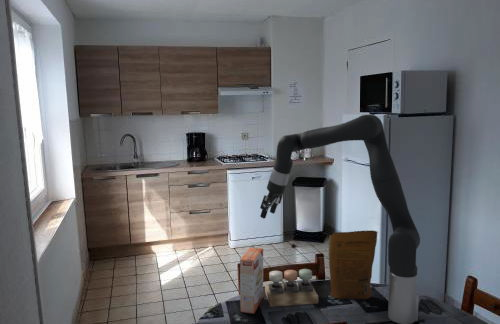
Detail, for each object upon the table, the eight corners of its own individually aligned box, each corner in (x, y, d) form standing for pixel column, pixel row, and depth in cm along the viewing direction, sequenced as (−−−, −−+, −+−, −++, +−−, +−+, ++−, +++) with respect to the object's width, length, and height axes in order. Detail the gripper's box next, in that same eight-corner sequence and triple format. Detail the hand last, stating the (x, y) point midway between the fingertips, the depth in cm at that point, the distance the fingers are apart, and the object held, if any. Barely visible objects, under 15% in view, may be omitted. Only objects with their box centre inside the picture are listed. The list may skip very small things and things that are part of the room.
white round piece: (281, 281, 165) (281, 270, 165) (283, 287, 160) (283, 275, 159) (268, 282, 165) (268, 271, 164) (270, 288, 160) (270, 276, 159)
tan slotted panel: (309, 288, 171) (309, 276, 171) (318, 303, 158) (318, 290, 158) (265, 291, 169) (264, 279, 168) (270, 306, 156) (270, 293, 156)
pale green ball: (310, 279, 167) (310, 268, 166) (313, 285, 161) (313, 273, 161) (297, 280, 166) (297, 269, 165) (300, 286, 161) (300, 274, 160)
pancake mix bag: (377, 301, 159) (379, 232, 155) (328, 300, 160) (329, 232, 157) (373, 293, 166) (375, 227, 162) (326, 293, 167) (327, 227, 163)
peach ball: (295, 280, 166) (295, 269, 165) (298, 286, 161) (298, 274, 160) (283, 281, 165) (283, 270, 165) (285, 287, 160) (285, 275, 160)
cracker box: (255, 314, 151) (254, 260, 148) (239, 312, 152) (238, 259, 149) (264, 297, 164) (263, 247, 161) (250, 295, 166) (249, 246, 163)
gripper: (278, 187, 160) (266, 223, 165) (293, 181, 172) (282, 214, 177) (262, 180, 163) (251, 215, 168) (278, 174, 175) (267, 207, 180)
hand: (267, 215), depth 172 cm, fingers open, 8 cm apart
